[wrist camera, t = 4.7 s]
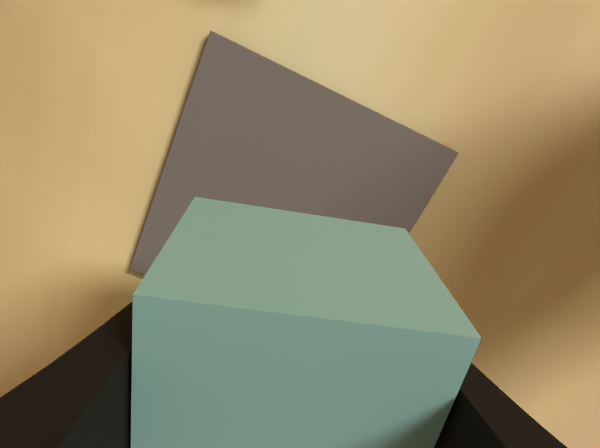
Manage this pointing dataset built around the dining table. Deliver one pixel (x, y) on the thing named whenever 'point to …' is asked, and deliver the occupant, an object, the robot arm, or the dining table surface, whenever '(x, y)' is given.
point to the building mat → (287, 151)
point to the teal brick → (293, 335)
